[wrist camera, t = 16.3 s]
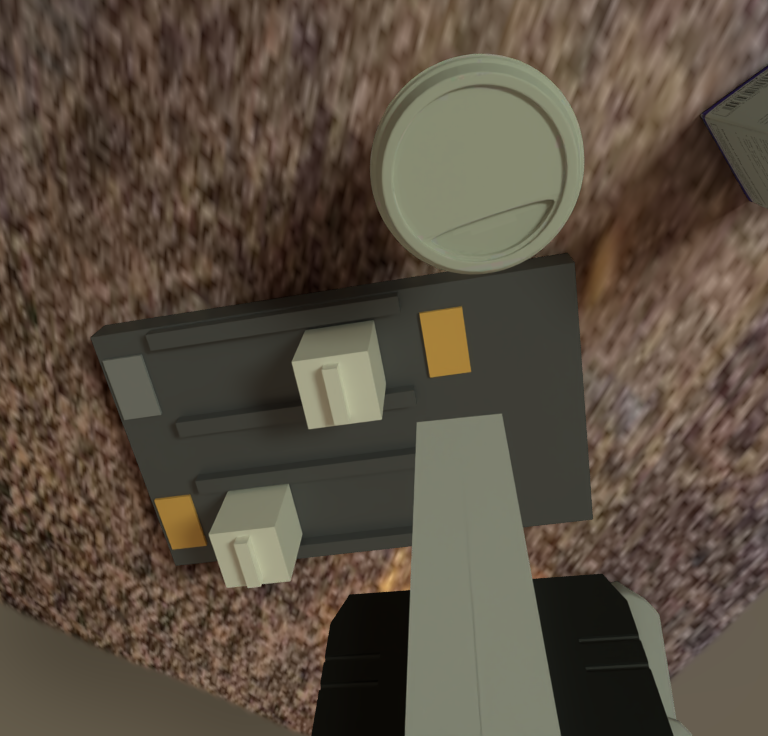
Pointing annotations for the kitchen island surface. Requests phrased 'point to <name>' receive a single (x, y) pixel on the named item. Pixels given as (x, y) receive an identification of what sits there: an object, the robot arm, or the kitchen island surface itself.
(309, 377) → the white slider knob
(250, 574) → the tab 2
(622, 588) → the salt shaker
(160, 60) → the kitchen island surface
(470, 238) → the coffee cup
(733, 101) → the supplement box
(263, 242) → the kitchen island surface
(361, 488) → the switch bank
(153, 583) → the kitchen island surface
